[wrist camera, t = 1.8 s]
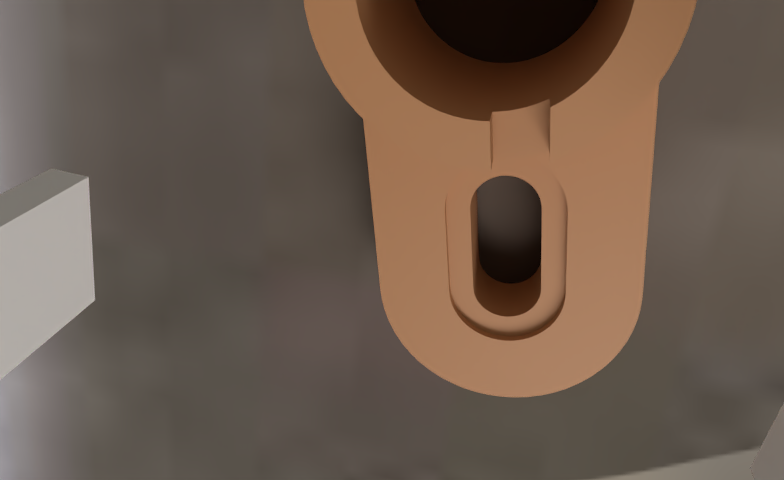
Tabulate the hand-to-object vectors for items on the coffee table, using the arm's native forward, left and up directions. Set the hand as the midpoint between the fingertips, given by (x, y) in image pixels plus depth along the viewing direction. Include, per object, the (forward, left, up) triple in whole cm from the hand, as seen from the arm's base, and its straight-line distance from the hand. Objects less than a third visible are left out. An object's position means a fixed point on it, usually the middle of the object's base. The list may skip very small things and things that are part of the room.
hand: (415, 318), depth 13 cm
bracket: (+1, +1, -12) cm, 12 cm away
